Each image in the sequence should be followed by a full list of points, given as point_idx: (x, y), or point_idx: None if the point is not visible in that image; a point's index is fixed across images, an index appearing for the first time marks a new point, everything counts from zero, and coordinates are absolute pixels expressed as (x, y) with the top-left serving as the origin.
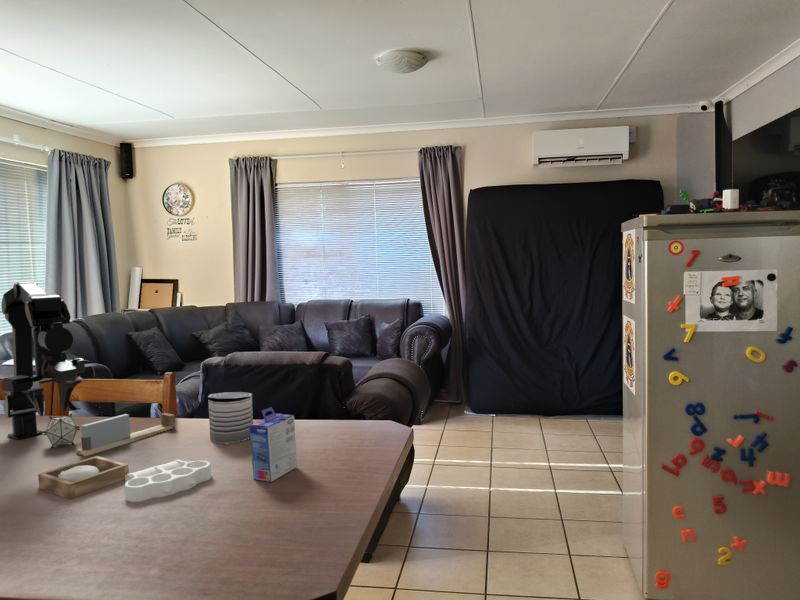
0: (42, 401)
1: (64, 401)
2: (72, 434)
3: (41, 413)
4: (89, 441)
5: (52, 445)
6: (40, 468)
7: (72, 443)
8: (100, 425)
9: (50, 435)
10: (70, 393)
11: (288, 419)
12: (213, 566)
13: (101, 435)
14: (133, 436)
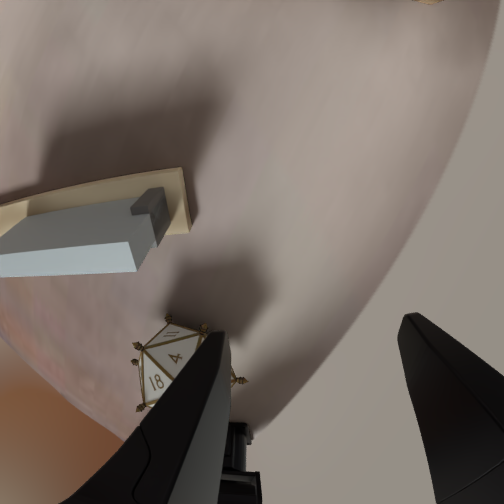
0: (484, 400)
1: (211, 401)
2: (162, 336)
3: (431, 323)
4: (142, 200)
5: None
6: (346, 176)
7: (169, 318)
8: (66, 239)
9: None
10: (122, 461)
11: None
12: None
13: (88, 218)
14: (20, 213)
